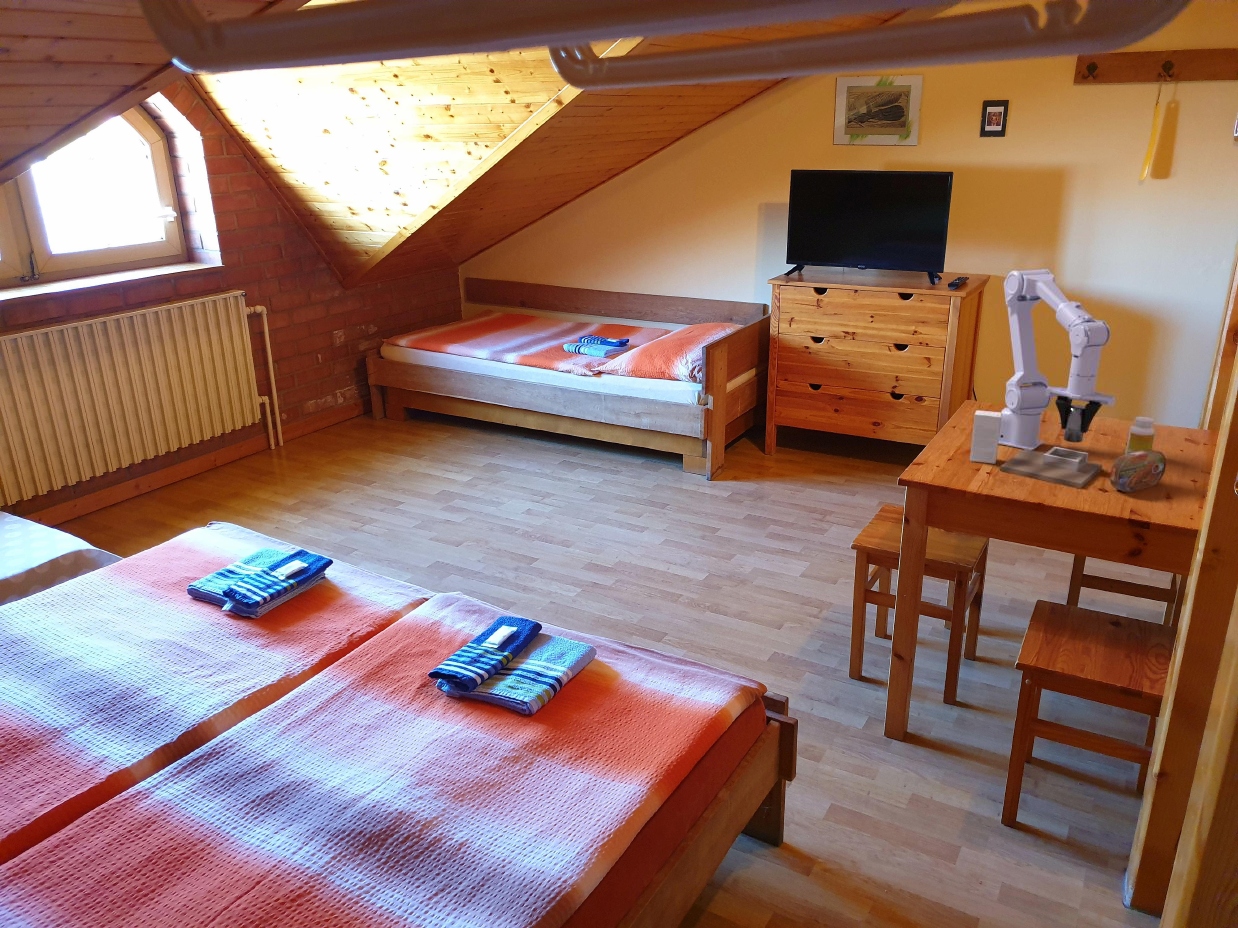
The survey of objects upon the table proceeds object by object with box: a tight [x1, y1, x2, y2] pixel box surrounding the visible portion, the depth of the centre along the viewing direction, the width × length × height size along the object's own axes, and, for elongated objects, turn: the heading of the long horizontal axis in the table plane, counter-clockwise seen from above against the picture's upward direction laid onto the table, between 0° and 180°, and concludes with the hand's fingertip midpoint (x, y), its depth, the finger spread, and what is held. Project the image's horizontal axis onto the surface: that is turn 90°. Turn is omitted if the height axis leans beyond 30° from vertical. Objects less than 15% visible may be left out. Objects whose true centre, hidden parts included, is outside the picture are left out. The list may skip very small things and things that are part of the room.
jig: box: [999, 446, 1103, 489], centre depth 216 cm, size 18×16×4 cm
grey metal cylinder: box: [1063, 404, 1085, 443], centre depth 214 cm, size 4×4×8 cm
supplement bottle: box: [1124, 416, 1156, 455], centre depth 223 cm, size 5×5×10 cm
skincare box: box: [969, 409, 1002, 465], centre depth 222 cm, size 6×4×12 cm
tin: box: [1109, 449, 1167, 493], centre depth 204 cm, size 15×3×8 cm, turn 114°
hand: (1074, 430), depth 215 cm, fingers closed on grey metal cylinder, 4 cm apart
